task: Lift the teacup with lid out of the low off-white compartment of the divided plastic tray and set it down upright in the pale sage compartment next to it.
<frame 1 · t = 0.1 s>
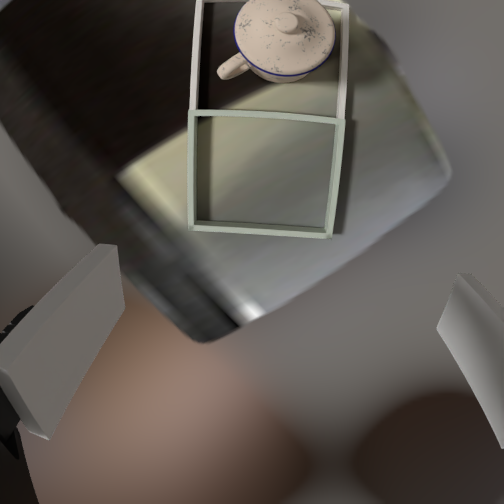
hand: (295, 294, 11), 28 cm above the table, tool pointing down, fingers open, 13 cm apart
teacup with lid: (270, 55, 31), resting in divided tray
divided tray: (267, 110, 34), on the table
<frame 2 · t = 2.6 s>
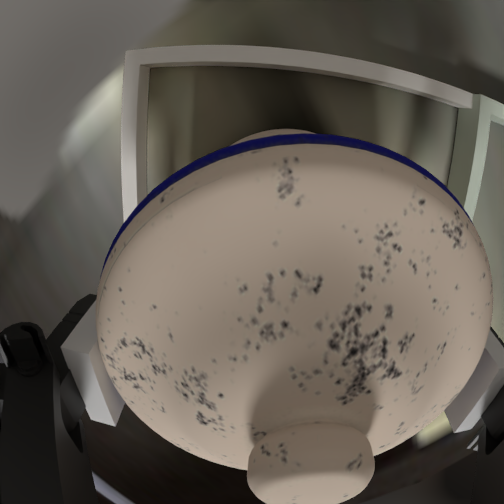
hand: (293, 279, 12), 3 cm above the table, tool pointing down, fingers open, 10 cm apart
teacup with lid: (300, 249, 15), resting in divided tray, touching gripper
divided tray: (425, 263, 15), on the table
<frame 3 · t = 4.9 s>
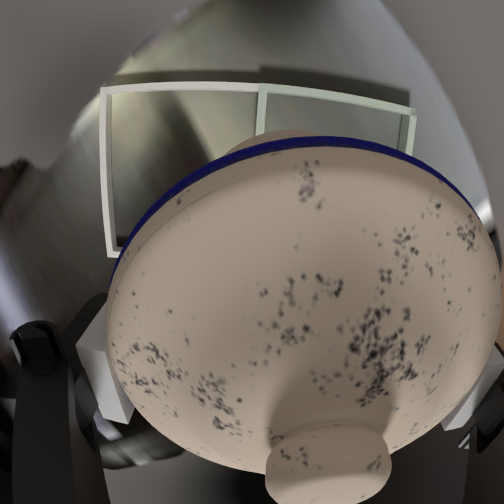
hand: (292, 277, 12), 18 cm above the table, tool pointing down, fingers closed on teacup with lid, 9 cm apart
teacup with lid: (305, 250, 15), point 16 cm above the table, touching gripper
divided tray: (250, 177, 29), on the table
when the fingers open (4 cm above the table, at t = 7.2 s): teacup with lid drops 2 cm, resting in divided tray.
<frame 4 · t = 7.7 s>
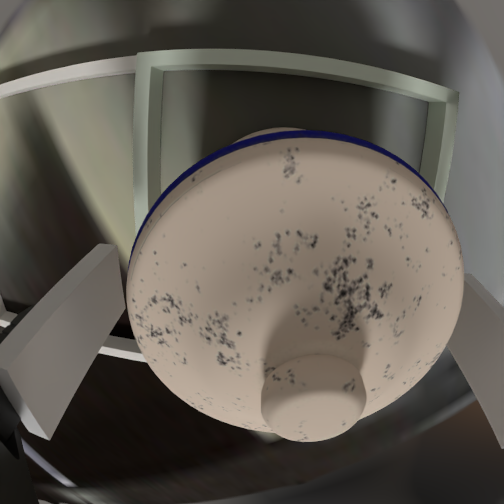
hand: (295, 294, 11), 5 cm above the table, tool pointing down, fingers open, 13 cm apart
teacup with lid: (298, 237, 16), resting in divided tray
divided tray: (145, 226, 16), on the table
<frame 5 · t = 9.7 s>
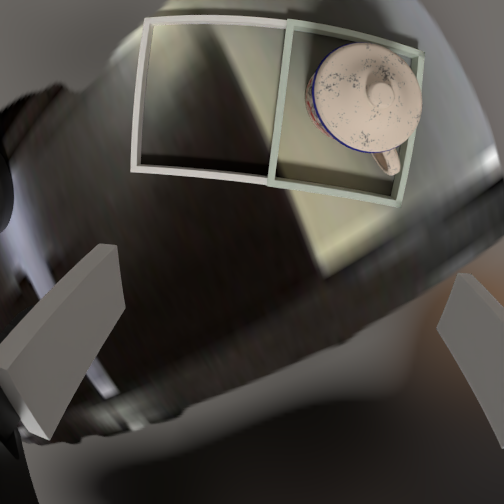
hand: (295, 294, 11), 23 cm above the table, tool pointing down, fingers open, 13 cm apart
teacup with lid: (352, 113, 29), resting in divided tray
divided tray: (275, 100, 29), on the table
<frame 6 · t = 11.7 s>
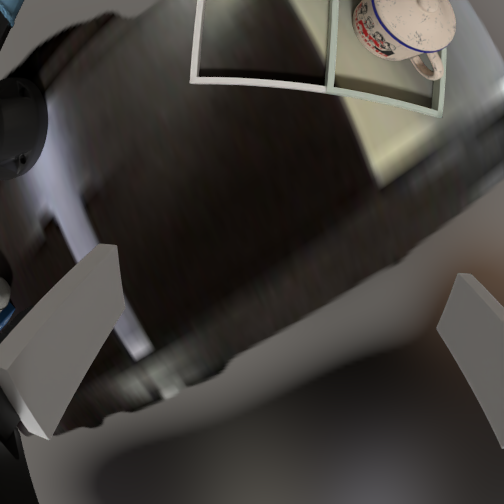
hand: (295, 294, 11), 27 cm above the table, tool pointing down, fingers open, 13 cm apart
teacup with lid: (391, 38, 28), resting in divided tray
divided tray: (327, 23, 28), on the table
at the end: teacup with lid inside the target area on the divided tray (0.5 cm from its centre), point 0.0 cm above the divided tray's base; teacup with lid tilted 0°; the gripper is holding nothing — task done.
